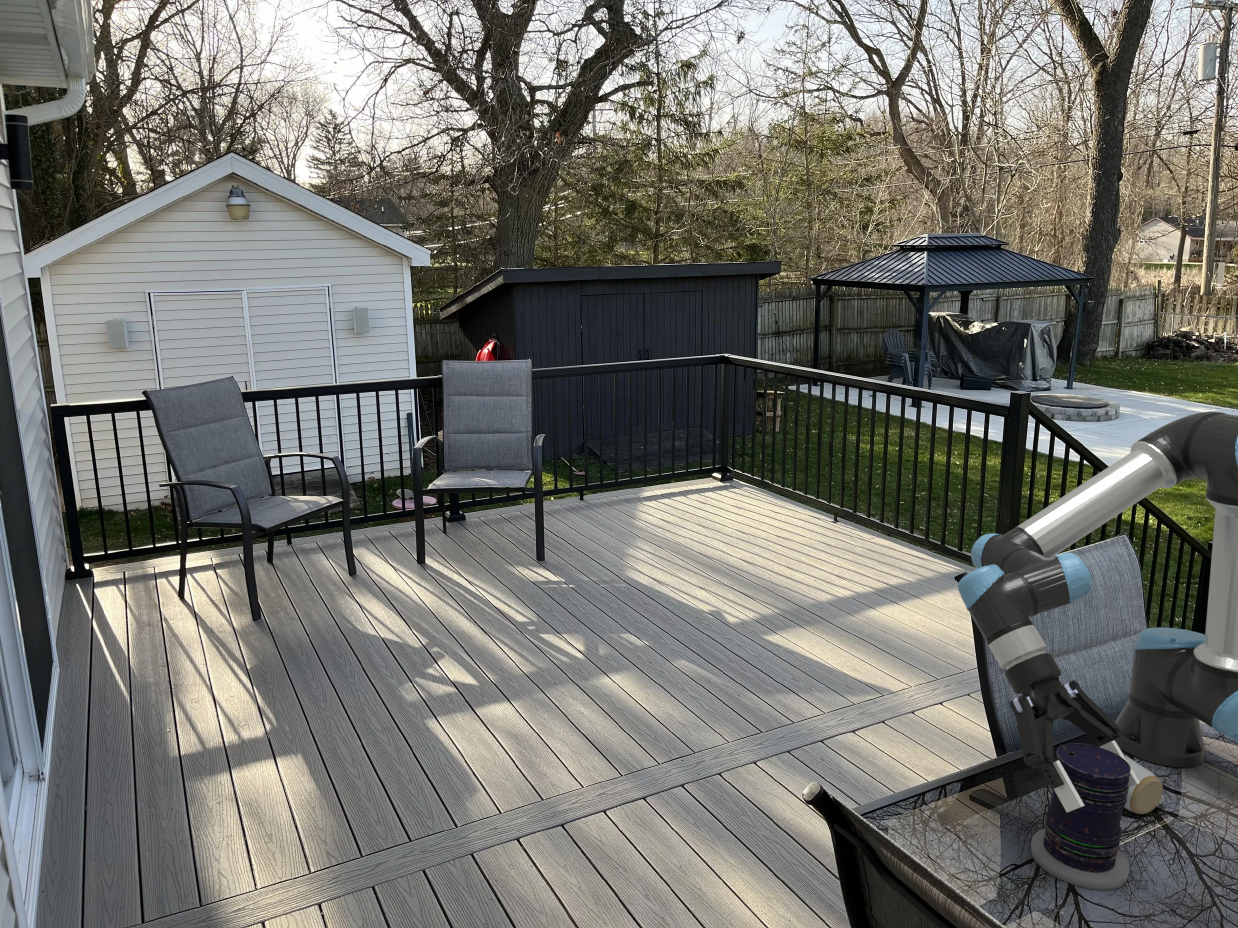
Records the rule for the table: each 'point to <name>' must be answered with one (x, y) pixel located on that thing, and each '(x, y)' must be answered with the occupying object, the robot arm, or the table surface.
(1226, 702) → the robot arm
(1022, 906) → the table surface
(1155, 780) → the ceramic mug
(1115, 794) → the navy cylinder
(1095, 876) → the grey flat round disc
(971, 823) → the table surface
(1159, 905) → the table surface
